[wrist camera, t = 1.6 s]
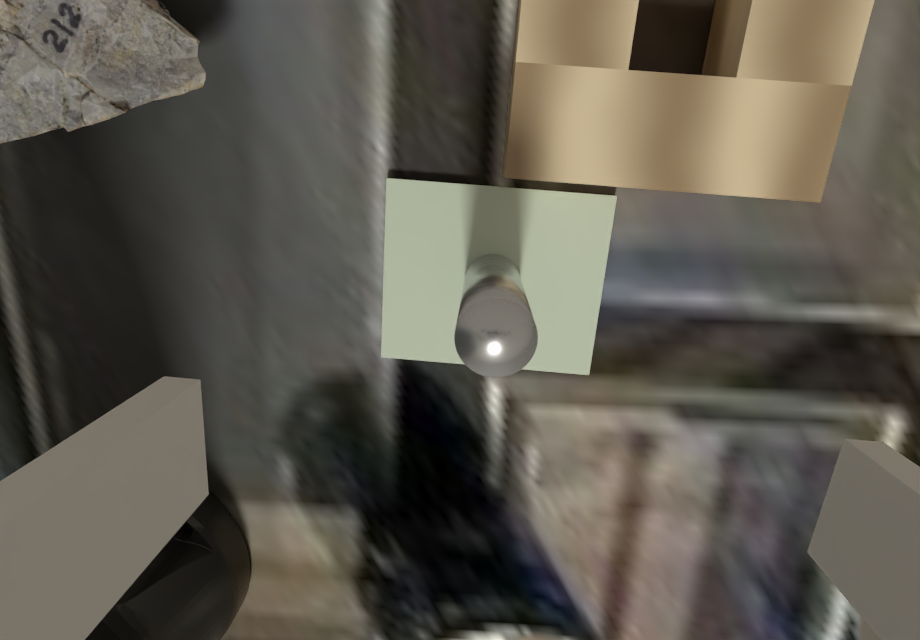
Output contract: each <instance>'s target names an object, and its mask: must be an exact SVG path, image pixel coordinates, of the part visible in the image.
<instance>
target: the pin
mask: <svg viewBox="0 0 920 640" xmlns="http://www.w3.org/2000/svg"><path fill="white" fill-rule="evenodd" d="M454 341H455V347H456V351H457V353H458V355H459V357H460V359H461V360H462V361H463V363H464V364H465V365H466V366H467V367H468V368H470V369H471V370H472V371H474V372H476V373H478V374H480V375H483V376H487V377H505V376H509V375H512V374H514V373H516V372H518V371H519V370H521V369H522V368H524V367H525V366H526V365H527V364H528V363H529V361H530V360H531V359H532V357H533V355H534V353H535V351H536V348H537V343H538V333H537V328H536V324H535V321H534V318H533V315H532V312H531V309H530V306H529V303H528V300H527V297H526V294H525V290H524V287H523V284H522V281H521V278H520V275H519V272H518V269H517V268H516V266H515V265H514V263H513V262H512V261H511V260H509V259H508V258H506V257H505V256H502V255H499V254H487V255H483V256H481V257H479V258H477V259H476V260H474V261H473V262H472V264H471V265H470V266H469V268H468V270H467V272H466V276H465V281H464V286H463V292H462V297H461V302H460V307H459V313H458V318H457V323H456V328H455V335H454Z"/></svg>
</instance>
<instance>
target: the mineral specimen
mask: <svg viewBox="0 0 920 640" xmlns="http://www.w3.org/2000/svg"><path fill="white" fill-rule="evenodd" d="M199 44H200V41H199V40H198V39H197V38H196V37H195V36H194V35H192V34H191V33H190V32H189V31H188V30H186V29H185V28H184V27H183V26H181V25H180V24H179V23H177V22H176V21H175V20H174V19H173V18H172V17H171V16H170V13H169V11H168V10H166V6H165V5H164V4H163V3H162V2H161V1H160V0H0V144H1V143H5V142H9V141H13V140H18V139H23V138H27V137H32V136H36V135H39V134H42V133H45V132H48V131H51V130H55V129H59V128H65V129H66V130H67V131H68V132H70V131H73V130H75V129H78V128H80V127H83V126H88V125H93V124H96V123H99V122H102V121H105V120H108V119H111V118H114V117H116V116H118V115H121V114H123V113H126V112H128V111H129V110H131V109H132V108H134V107H137V106H140V105H143V104H145V103H148V102H151V101H154V100H160V99H166V98H168V97H172V96H177V95H182V94H185V93H187V92H189V91H192V90H195V89H198V88H201V87H203V85H204V82H205V79H206V75H207V73H206V72H205V70H204V69H203V67H202V66H201V64H200V61H199V59H198V56H197V55H198V46H199Z"/></svg>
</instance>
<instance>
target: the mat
mask: <svg viewBox="0 0 920 640" xmlns="http://www.w3.org/2000/svg"><path fill="white" fill-rule="evenodd" d="M616 200H617V196H613V195H600V194H588V193H575V192H562V191H549V190H536V189H523V188H510V187H497V186H484V185H471V184H459V183H446V182H433V181H420V180H407V179H394V178H387V182H386V214H385V245H384V277H383V309H382V340H381V357H386V358H397V359H409V360H420V361H432V362H444V363H455V364H464V363H463V361H462V360H461V359H460V357H459V355H458V353H457V351H456V347H455V341H454V335H455V328H456V323H457V318H458V313H459V307H460V302H461V297H462V292H463V286H464V281H465V276H466V272H467V270H468V268H469V266H470V265H471V264H472V262H473V261H474V260H476V259H477V258H479V257H481V256H483V255H487V254H499V255H502V256H505V257H506V258H508V259H509V260H511V261H512V262H513V263H514V265H515V266H516V268H517V269H518V272H519V275H520V278H521V281H522V284H523V287H524V290H525V294H526V297H527V300H528V303H529V306H530V309H531V312H532V315H533V318H534V321H535V324H536V328H537V333H538V343H537V348H536V351H535V353H534V355H533V357H532V359H531V360H530V361H529V363H528V364H527V365H526V366H525V367H524V368H522V369H525V370H536V371H548V372H559V373H571V374H582V375H589V372H590V365H591V359H592V353H593V346H594V340H595V334H596V327H597V321H598V314H599V308H600V302H601V295H602V289H603V283H604V276H605V270H606V263H607V257H608V251H609V244H610V238H611V231H612V225H613V219H614V212H615V206H616Z"/></svg>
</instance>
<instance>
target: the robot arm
mask: <svg viewBox="0 0 920 640" xmlns="http://www.w3.org/2000/svg"><path fill="white" fill-rule="evenodd" d="M807 553H808V554H809V555H810V556H811V557H812V559H813V560H814V561H815V562H816V563H817V564H818V566H819V567H820V568H821V569H822V570H823V572H824V573H825V574H826V575H827V576H828V577H829V579H830V580H831V581H832V582H833V583H834V585H835V586H836V587H837V588H838V589H839V590H840V592H841V593H842V594H843V595H844V596H845V598H846V599H847V600H848V601H849V602H850V604H851V605H852V606H853V607H854V608H855V609H856V611H857V612H858V613H859V614H860V615H861V617H862V618H863V619H864V620H865V621H866V622H867V623H868V625H869V626H870V627H871V628H872V630H873V631H874V632H875V633H876V634H877V636H878V637H879V638H880V639H881V640H920V467H919V466H917V465H916V464H914V463H913V462H911V461H910V460H908V459H907V458H906V457H904V456H903V455H901V454H900V453H898V452H897V451H895V450H894V449H892V448H891V447H889V446H888V445H886V444H885V443H884V442H875V441H864V440H853V439H844V441H843V445H842V448H841V451H840V454H839V457H838V460H837V463H836V466H835V469H834V472H833V475H832V478H831V481H830V484H829V487H828V490H827V493H826V497H825V500H824V503H823V506H822V509H821V512H820V515H819V518H818V521H817V524H816V527H815V530H814V533H813V536H812V539H811V542H810V546H809V549H808V552H807ZM249 582H250V559H249V554H248V550H247V546H246V543H245V541H244V538H243V536H242V534H241V532H240V530H239V528H238V526H237V524H236V523H235V521H234V520H233V518H232V517H231V515H230V514H229V513H228V511H227V510H226V509H225V508H224V507H223V506H222V504H221V503H220V502H219V501H218V500H217V499H216V498H215V497H213V496H212V495H211V494H210V493H209V491H208V477H207V464H206V450H205V436H204V422H203V408H202V394H201V380H199V379H188V378H177V377H166V376H164V377H162V378H161V379H159V380H157V381H156V382H154V383H153V384H151V385H150V386H148V387H147V388H145V389H143V390H142V391H140V392H139V393H137V394H136V395H134V396H133V397H131V398H129V399H128V400H126V401H125V402H123V403H122V404H120V405H119V406H117V407H115V408H114V409H112V410H111V411H109V412H108V413H106V414H104V415H103V416H101V417H100V418H98V419H97V420H95V421H94V422H92V423H90V424H89V425H87V426H86V427H84V428H83V429H81V430H80V431H78V432H76V433H75V434H73V435H72V436H70V437H69V438H67V439H66V440H64V441H62V442H61V443H59V444H58V445H56V446H55V447H53V448H51V449H50V450H48V451H47V452H45V453H44V454H42V455H41V456H39V457H37V458H36V459H34V460H33V461H31V462H30V463H28V464H27V465H25V466H23V467H22V468H20V469H19V470H17V471H16V472H14V473H13V474H11V475H9V476H8V477H6V478H5V479H3V480H2V481H0V640H220V639H221V638H222V637H223V635H224V634H225V633H226V631H227V630H228V628H229V626H230V625H231V623H232V621H233V619H234V618H235V616H236V614H237V612H238V610H239V609H240V607H241V605H242V603H243V601H244V599H245V597H246V594H247V591H248V588H249Z"/></svg>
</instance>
